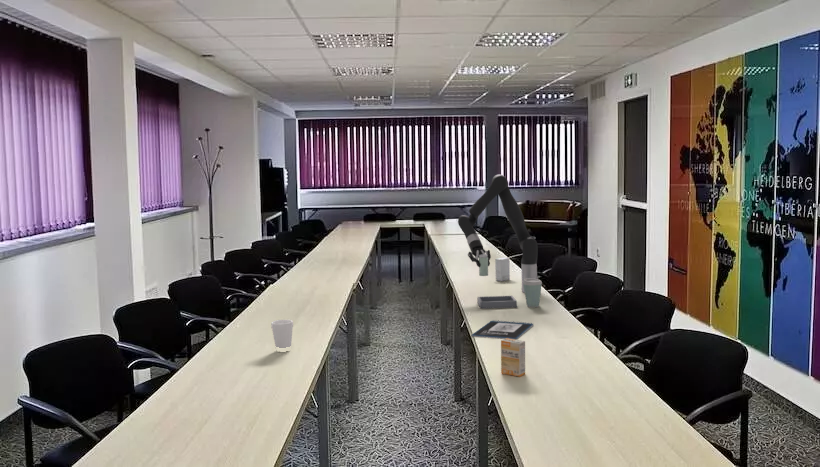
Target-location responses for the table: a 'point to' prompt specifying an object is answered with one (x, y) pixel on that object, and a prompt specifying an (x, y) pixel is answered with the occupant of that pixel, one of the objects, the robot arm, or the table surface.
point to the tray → (496, 302)
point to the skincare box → (502, 269)
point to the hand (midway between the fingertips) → (484, 265)
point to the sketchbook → (503, 329)
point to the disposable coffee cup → (532, 291)
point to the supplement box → (513, 357)
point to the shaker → (483, 265)
